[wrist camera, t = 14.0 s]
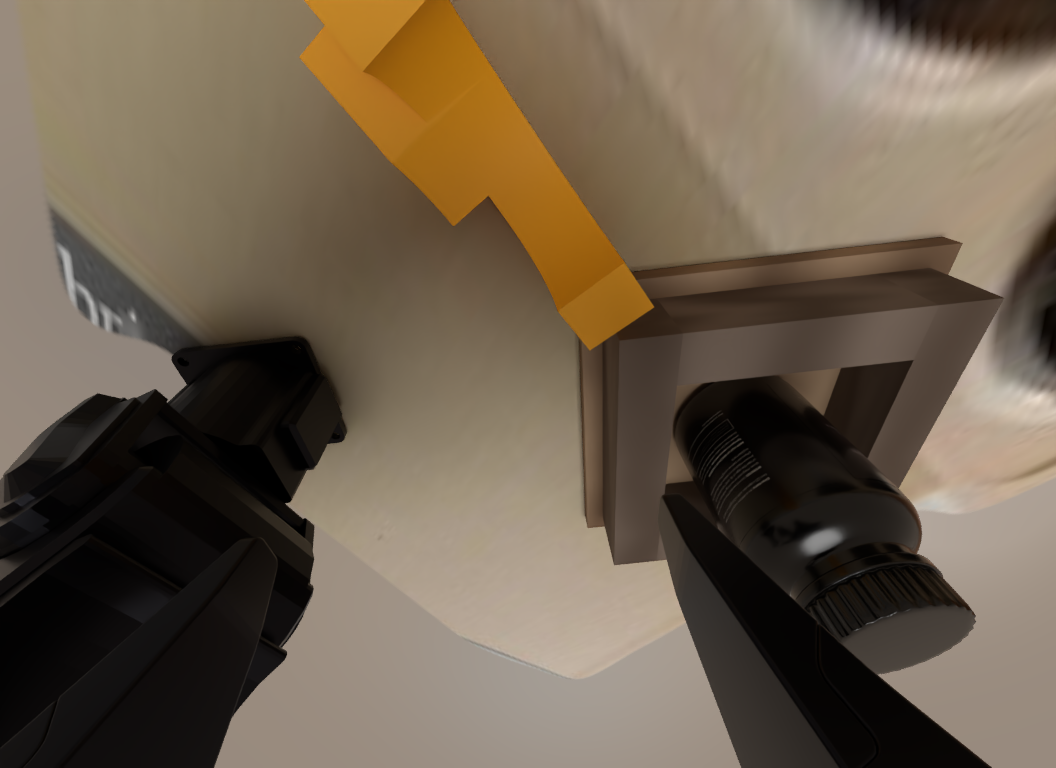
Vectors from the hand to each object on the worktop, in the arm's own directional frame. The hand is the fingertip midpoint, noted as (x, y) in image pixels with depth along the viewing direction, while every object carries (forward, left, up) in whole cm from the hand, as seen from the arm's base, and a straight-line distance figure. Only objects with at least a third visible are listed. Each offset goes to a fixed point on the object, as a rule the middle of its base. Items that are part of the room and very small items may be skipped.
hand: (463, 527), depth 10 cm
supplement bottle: (+13, -8, -12) cm, 19 cm away
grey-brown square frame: (+13, -8, -13) cm, 20 cm away
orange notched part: (+1, +6, -13) cm, 15 cm away
